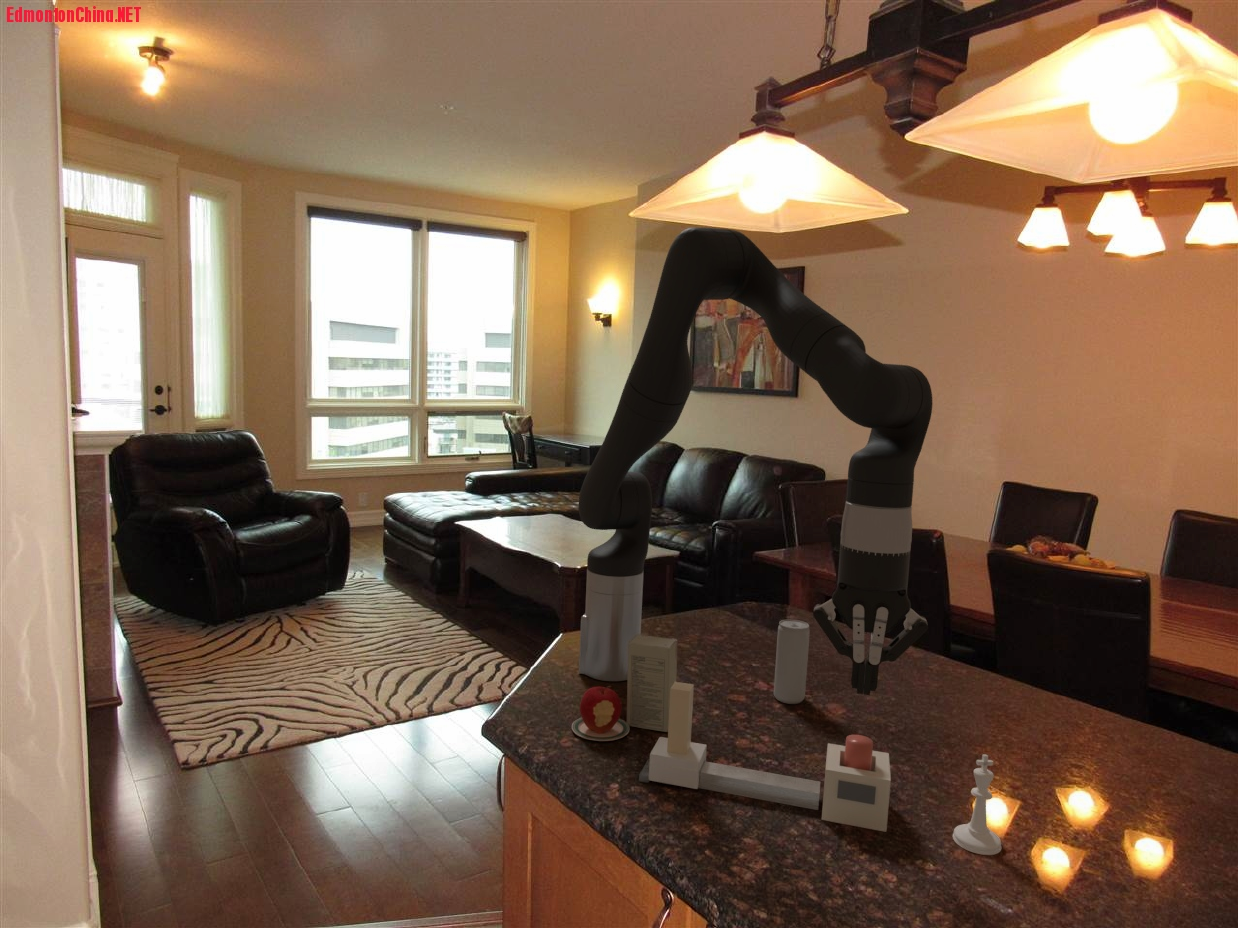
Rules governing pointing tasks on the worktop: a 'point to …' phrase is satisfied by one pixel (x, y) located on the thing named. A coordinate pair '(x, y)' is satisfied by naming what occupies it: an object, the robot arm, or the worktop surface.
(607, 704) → the apple
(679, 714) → the carriage
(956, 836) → the chess piece
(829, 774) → the cream square box
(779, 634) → the beverage can
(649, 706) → the skincare box
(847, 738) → the button
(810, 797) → the rail
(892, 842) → the worktop surface
